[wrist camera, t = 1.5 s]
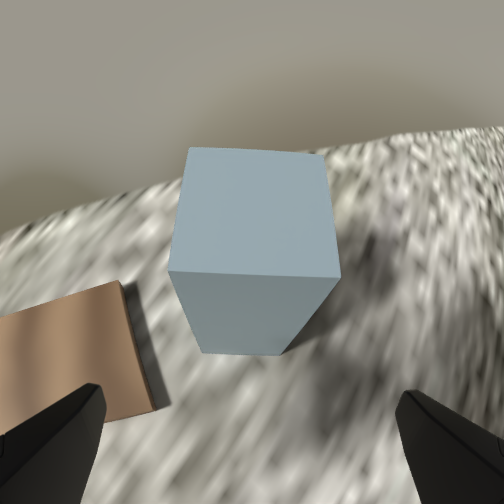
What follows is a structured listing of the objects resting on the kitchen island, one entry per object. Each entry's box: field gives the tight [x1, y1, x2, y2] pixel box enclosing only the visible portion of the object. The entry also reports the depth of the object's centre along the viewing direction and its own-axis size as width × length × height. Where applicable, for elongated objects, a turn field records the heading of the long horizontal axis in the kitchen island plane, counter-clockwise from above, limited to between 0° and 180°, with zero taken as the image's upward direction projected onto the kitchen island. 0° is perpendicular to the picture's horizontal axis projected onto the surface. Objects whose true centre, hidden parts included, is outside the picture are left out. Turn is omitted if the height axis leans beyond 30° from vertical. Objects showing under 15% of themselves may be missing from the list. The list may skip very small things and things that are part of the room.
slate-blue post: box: [168, 147, 341, 356], centre depth 16 cm, size 5×5×12 cm
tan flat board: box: [0, 280, 157, 435], centre depth 17 cm, size 16×9×1 cm, turn 111°
